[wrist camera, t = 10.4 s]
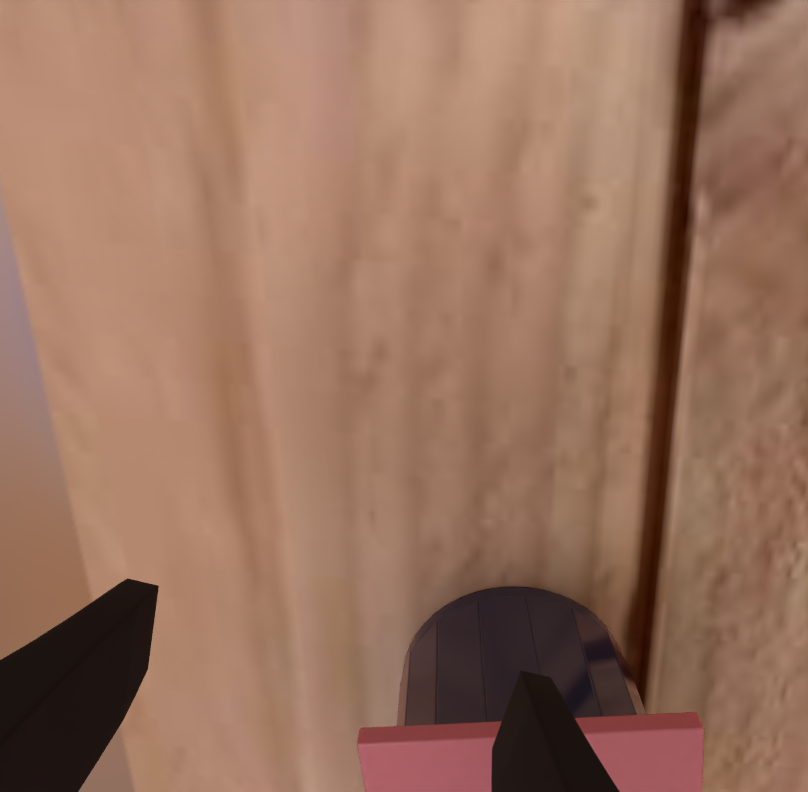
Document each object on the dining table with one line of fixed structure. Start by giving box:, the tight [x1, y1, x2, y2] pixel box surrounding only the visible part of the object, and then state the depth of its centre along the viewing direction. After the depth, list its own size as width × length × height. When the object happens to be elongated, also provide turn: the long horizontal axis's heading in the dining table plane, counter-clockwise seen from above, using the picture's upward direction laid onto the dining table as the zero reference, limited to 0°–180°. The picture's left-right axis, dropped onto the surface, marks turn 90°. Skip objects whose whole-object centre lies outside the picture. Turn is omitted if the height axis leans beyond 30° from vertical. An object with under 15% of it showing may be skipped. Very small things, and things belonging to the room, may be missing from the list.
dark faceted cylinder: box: [397, 587, 646, 726], centre depth 23 cm, size 8×8×6 cm
